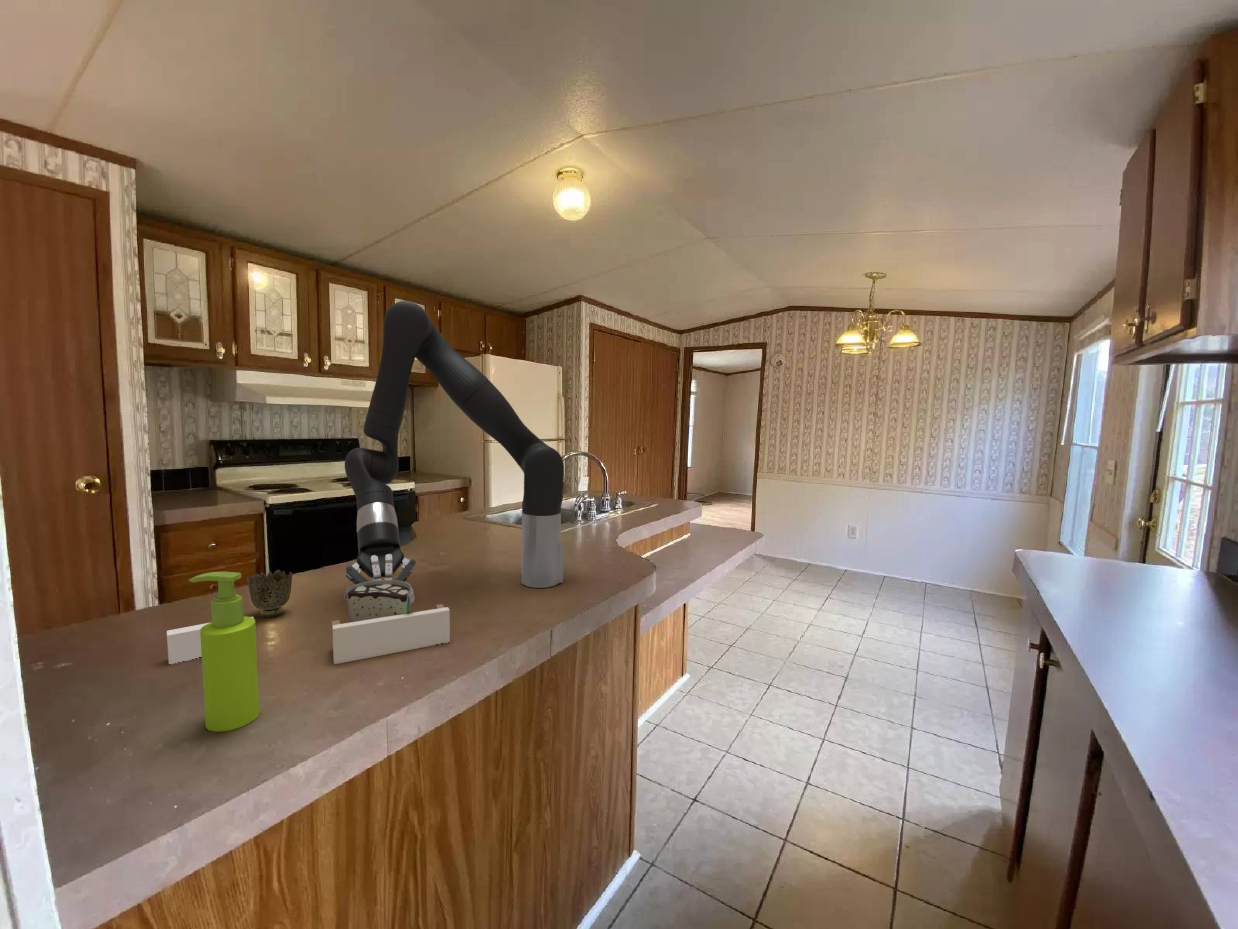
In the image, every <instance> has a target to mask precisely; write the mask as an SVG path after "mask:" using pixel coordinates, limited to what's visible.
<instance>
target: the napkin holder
mask: <svg viewBox="0 0 1238 929" xmlns="http://www.w3.org/2000/svg"><path fill="white" fill-rule="evenodd" d="M251 617H252V618H254V616H251ZM211 622H212V621H210V622H206V623H200V624H195V625H190V626H186V627H180V628H174V629H169V630H166V639H167V640H166V641H167V643H166V645H167V656H168V657H167V658H168V665H169V664H171V665H175V663H176V664H179V663H178V662H180V663H183V662H182V661H185V662H188V661H192V659H194V660H196V659H195V658H198V659H200V658H199V657H202V655H201V638H200V629H201V628H202V627H203V626H205V625H206V624H208V623H211Z"/></svg>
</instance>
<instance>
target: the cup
mask: <svg viewBox="0 0 1238 929" xmlns="http://www.w3.org/2000/svg"><path fill="white" fill-rule="evenodd" d="M246 580H247V581H246V582H247V586H248V592H249V596H250V600H251V604H253V607H255V608H256V609H258V610H260V615H261V616H262V617H264V618H274V616H275V617H278V616H279V615H281V614H282V613H283V611H284V609H283V606H285V605H286V604H287V603H288V602H289V599H290V598H291V592H292V586H293V585H292V583H293V582H292V581H293V572H291V571H290V572H289V573H288V574H286V571H285V570H283V571H282V570H280V569H277V570H276V571H274V572H273V573H272V572H271V571H270V570H268V572H267V574H265V573H264V572H260V574H258V573H255V575H254V576H253V575H250V578H249V577H247V578H246Z"/></svg>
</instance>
